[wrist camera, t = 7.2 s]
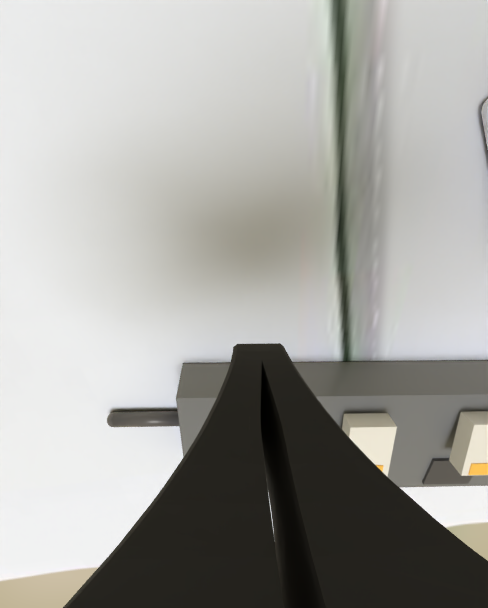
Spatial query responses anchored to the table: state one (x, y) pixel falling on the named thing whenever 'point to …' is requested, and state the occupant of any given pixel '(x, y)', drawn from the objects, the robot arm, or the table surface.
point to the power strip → (359, 407)
